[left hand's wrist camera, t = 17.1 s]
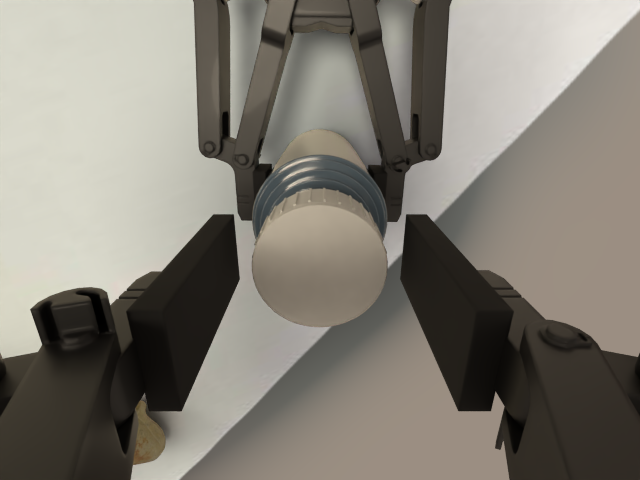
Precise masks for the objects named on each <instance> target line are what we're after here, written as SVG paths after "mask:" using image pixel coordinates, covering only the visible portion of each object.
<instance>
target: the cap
mask: <svg viewBox="0 0 640 480" xmlns="http://www.w3.org/2000/svg"><path fill="white" fill-rule="evenodd" d="M382 241H383V238H382V236H381V234H380V231H379V229H378V227H377V224H376V223H374V220H373V218H372V216H371V213H370V212H369V213H368V212H367V211H366V209H365V208H364V207H363V205H362V203H359V202H357V201H356V200H355V199H353V198H352V197H351V196H350V195H349V196H348V195H346V194H344V193H341V192H339V190H337V191H334V190H329V189H325V188H323V189H312V188H310V189H309V190H305V191H302V192H296V194H294V195H292V196H290V197H288V198H284V200H283V201H282V202H281V203H280V204H279V205H278V206H275V207H274V209H273V211H272V212H271V214H270V216H267V217H266V220H265V222H264V224H263V226H262V228H261V231H260V233H259V235H258V237H257V240H256V242H255V245H256V246H255V249H254V253H253V256H252V258H253V259H252V273H253V279H254V282H255V286H256V288H257V290H258V292H259V294H260V295H261V297H262V299H263V300H264V301H265V302H266V304H267V305H268V306H269V307H270V308H271V309H272V310H273V311H274V312H276V313H277V314H279V315H280V316H282V317H283V318H285V319H287V320H289V321H292V322H294V323H297V324H300V325H304V326H310V327H329V326H335V325H339V324H343V323H345V322H348V321H350V320H352V319H354V318H356V317H358V316H359V315H361V314H362V313H363V312H365V311H366V310H367V309H368V308H369V307H370V306H371V305H372V304H373V303H374V302H375V301H376V299H377V298H378V296H379V295H380V293H381V291H382V289H383V287H384V284H385V280H386V276H387V256H386V254H387V252H386V249H385V247H384V245H383V242H382Z"/></svg>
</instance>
